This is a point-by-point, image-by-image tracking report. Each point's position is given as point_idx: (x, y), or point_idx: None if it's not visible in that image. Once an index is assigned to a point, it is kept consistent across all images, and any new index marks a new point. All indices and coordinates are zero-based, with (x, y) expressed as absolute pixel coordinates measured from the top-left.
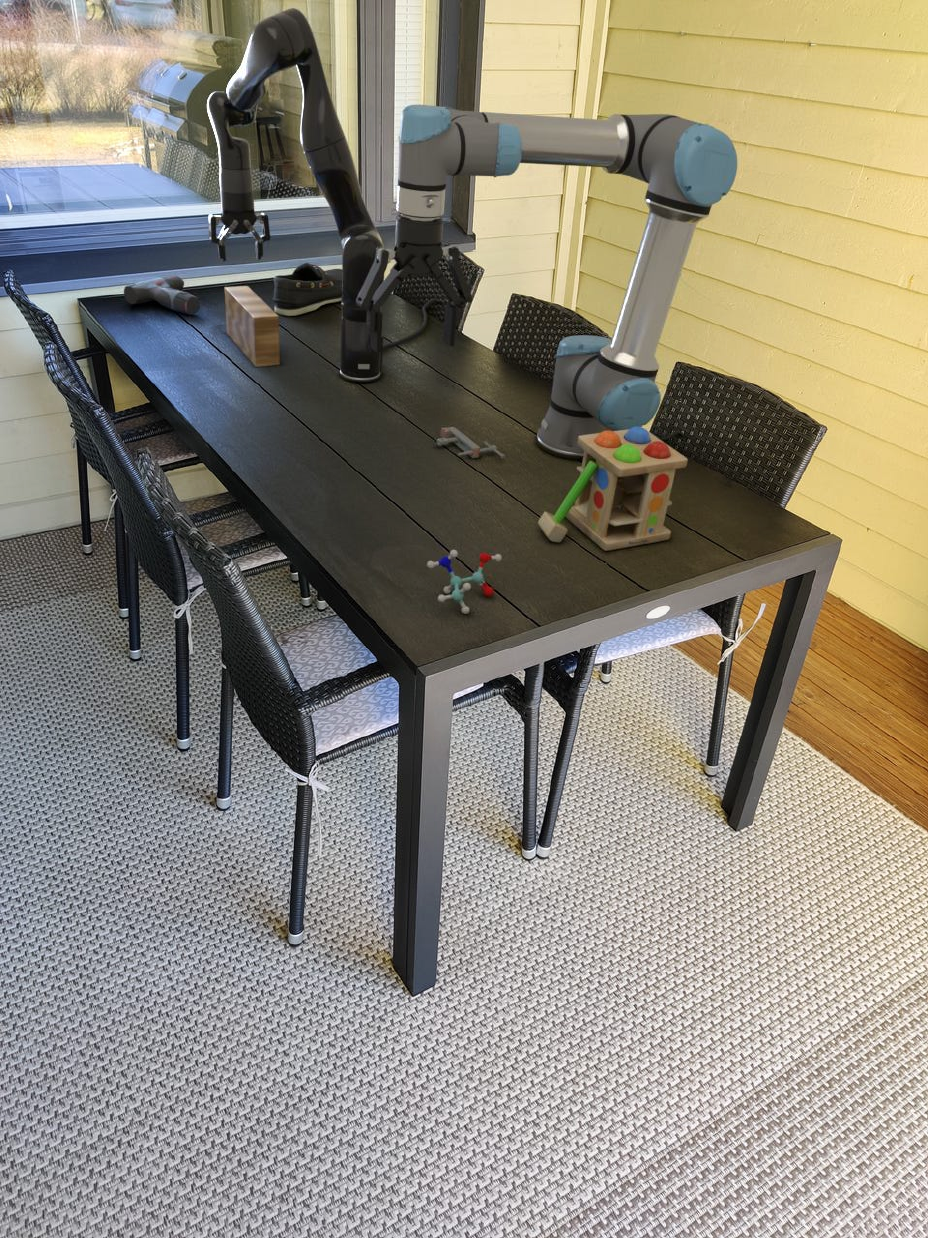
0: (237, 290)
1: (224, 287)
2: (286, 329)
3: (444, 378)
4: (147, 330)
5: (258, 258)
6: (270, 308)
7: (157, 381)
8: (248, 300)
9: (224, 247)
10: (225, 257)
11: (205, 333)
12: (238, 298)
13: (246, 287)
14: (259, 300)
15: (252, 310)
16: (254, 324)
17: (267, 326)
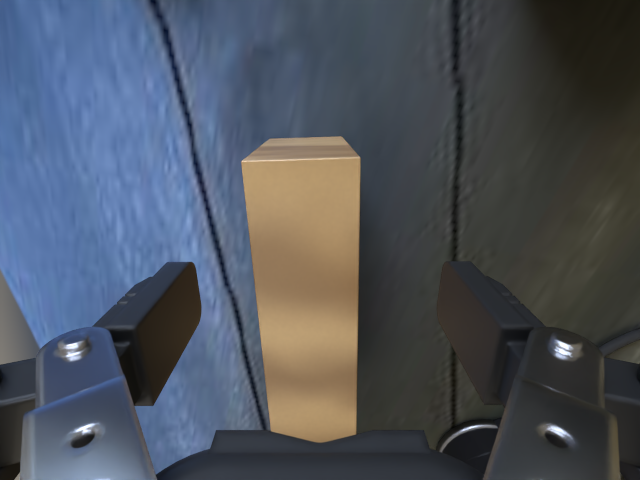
0: (291, 224)
1: (241, 163)
2: (462, 136)
3: None
4: (11, 54)
5: (441, 320)
6: (355, 430)
7: None
8: (304, 350)
9: (155, 390)
10: (190, 334)
11: (203, 124)
12: (271, 324)
13: (346, 184)
14: (345, 355)
15: None
16: None
17: None
